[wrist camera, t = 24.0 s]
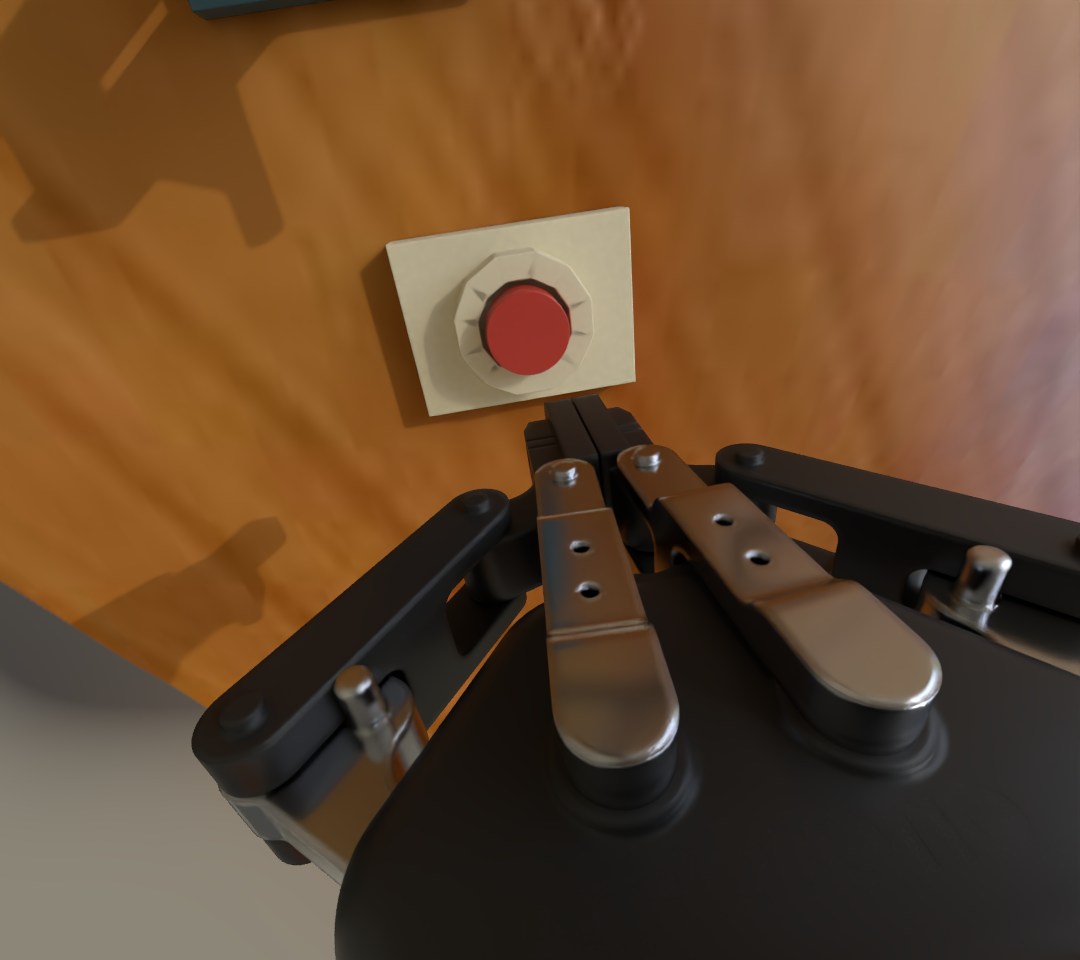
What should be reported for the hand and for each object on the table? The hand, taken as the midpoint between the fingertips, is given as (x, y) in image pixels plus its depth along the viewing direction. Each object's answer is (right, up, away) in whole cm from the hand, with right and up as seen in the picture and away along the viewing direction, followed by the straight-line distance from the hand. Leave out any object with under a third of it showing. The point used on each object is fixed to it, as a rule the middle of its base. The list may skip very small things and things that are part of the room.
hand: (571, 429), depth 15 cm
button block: (-2, +8, +14) cm, 16 cm away
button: (-2, +6, +11) cm, 13 cm away
